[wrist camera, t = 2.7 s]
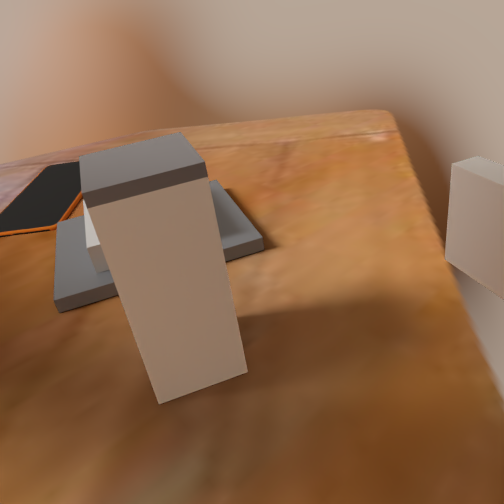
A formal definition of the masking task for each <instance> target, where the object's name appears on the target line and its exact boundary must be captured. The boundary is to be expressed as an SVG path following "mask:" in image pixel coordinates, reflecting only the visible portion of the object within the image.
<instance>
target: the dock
mask: <svg viewBox="0 0 504 504" xmlns="http://www.w3.org/2000/svg"><path fill="white" fill-rule="evenodd" d="M209 184H210V189H211V194H212V199H213V204H214V209H215V214H216V218H217V223H218V228H219V233H220V238H221V243H222V248H223V253H224V257H225V262H226V261H229V260H233V259H236V258H239V257H242V256H246V255H249V254H252V253H255V252H258V251H262V250H264V243H263V237H262V236H261V235H260V233H259V232H258V231H257V230H256V228H255V227H254V226H253V225H252V223H251V222H250V221H249V220H248V218H247V217H246V216H245V215H244V214H243V212H242V211H241V210H240V209H239V207H238V206H237V205H236V204H235V202H234V201H233V200H232V199H231V197H230V196H229V195H228V194H227V192H226V191H225V190H224V189H223V187H222V186H221V185H220V184H219V182H218V181H217V180H214V181H210V182H209ZM83 205H84V215H83V216H79V217H76V218H72V219H68V220H65V221H61V222H57V237H56V258H55V280H54V303H55V305H56V307H57V309H58V311H59V313H61V312H64V311H67V310H71V309H74V308H77V307H80V306H84V305H87V304H90V303H93V302H96V301H100V300H103V299H106V298H109V297H113V296H116V295H119V294H118V291H117V289H116V286H115V283H114V280H113V278H112V275H111V272H110V270H109V267H108V264H107V261H106V259H105V256H104V253H103V250H102V248H101V245H100V242H99V239H98V237H97V234H96V231H95V229H94V226H93V223H92V220H91V218H90V215H89V212H88V209H87V207H86V204H85V201H84V200H83Z"/></svg>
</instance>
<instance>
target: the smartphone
mask: <svg viewBox="0 0 504 504" xmlns="http://www.w3.org/2000/svg"><path fill="white" fill-rule="evenodd" d="M82 197H83V196H82V192H81V177H80V163H79V161H77V162H70V163H63V164H56V165H50V166H47V167H45V168H44V169H43V170H42V171H41V172H40V173H39V174H38V175H37V176H36V177H35V178H34V179H33V180H32V181H31V182H30V183H29V184H28V185H27V186H26V187H25V189H24V190H23V191H22V192H21V193H20V194H19V195H18V196H17V197H16V198H15V199H14V200H13V201H12V202H11V203H10V204H9V205H8V206H7V207H6V208H5V209H4V210H3V211H2V212H1V213H0V237H5V236H12V235H16V234H28V233H36V232H43V231H51V230H56V229H57V222H61V221H65V220H66V219H67V218H68V216H69V215H70V214H71V212H72V211H73V209H74V208H75V207H76V205H77V204H78V202H79V201H80V200H81V198H82Z"/></svg>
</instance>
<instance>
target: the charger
mask: <svg viewBox="0 0 504 504" xmlns="http://www.w3.org/2000/svg"><path fill="white" fill-rule="evenodd" d="M79 163H80V177H81V192H82V196H83V198H84V201H85V204H86V207H87V209H88V212H89V215H90V218H91V220H92V223H93V226H94V229H95V231H96V234H97V237H98V239H99V242H100V245H101V248H102V250H103V253H104V256H105V259H106V261H107V264H108V267H109V270H110V272H111V275H112V278H113V280H114V283H115V286H116V289H117V291H118V294H119V297H120V300H121V302H122V305H123V308H124V311H125V313H126V316H127V319H128V322H129V324H130V327H131V330H132V332H133V335H134V338H135V341H136V343H137V346H138V349H139V352H140V354H141V357H142V360H143V363H144V365H145V368H146V371H147V373H148V376H149V379H150V382H151V384H152V387H153V390H154V393H155V395H156V398H157V401H158V404H162V403H165V402H167V401H170V400H173V399H176V398H178V397H181V396H184V395H186V394H189V393H192V392H195V391H197V390H200V389H203V388H206V387H208V386H211V385H214V384H217V383H219V382H222V381H225V380H228V379H230V378H233V377H236V376H238V375H241V374H244V373H247V372H248V370H247V365H246V360H245V355H244V350H243V345H242V340H241V335H240V331H239V326H238V321H237V316H236V311H235V306H234V301H233V296H232V292H231V287H230V282H229V277H228V272H227V267H226V262H225V257H224V253H223V248H222V243H221V238H220V233H219V228H218V223H217V218H216V214H215V209H214V204H213V199H212V194H211V189H210V184H209V179H208V175H207V170H206V165H205V161H204V160H203V159H202V158H201V156H200V155H199V154H198V153H197V152H196V150H195V149H194V148H193V147H192V145H191V144H190V143H189V142H188V141H187V139H186V138H185V137H184V136H183V135H182V133H181V132H178V133H174V134H170V135H166V136H162V137H158V138H153V139H149V140H145V141H141V142H137V143H133V144H128V145H124V146H120V147H116V148H112V149H108V150H103V151H99V152H95V153H91V154H87V155H83V156H79Z"/></svg>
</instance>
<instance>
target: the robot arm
mask: <svg viewBox="0 0 504 504" xmlns="http://www.w3.org/2000/svg"><path fill="white" fill-rule="evenodd" d="M445 260H447V261H448V262H449V263H451V264H452V265H454V266H455V267H457V268H458V269H460V270H461V271H463V272H464V273H466V274H467V275H469V276H470V277H471V278H473V279H474V280H476V281H477V282H479V283H480V284H481V285H483V286H484V287H486V288H487V289H489V290H490V291H492V292H493V293H495V294H496V295H498V296H499V297H500V298H502V299H503V300H504V165H501V164H499V163H496V162H494V161H491V160H488V159H486V158H483V157H480V156H476V157H473V158H469V159H466V160H463V161H459V162H456V163H453V164H452V170H451V183H450V197H449V210H448V223H447V237H446V249H445Z"/></svg>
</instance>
